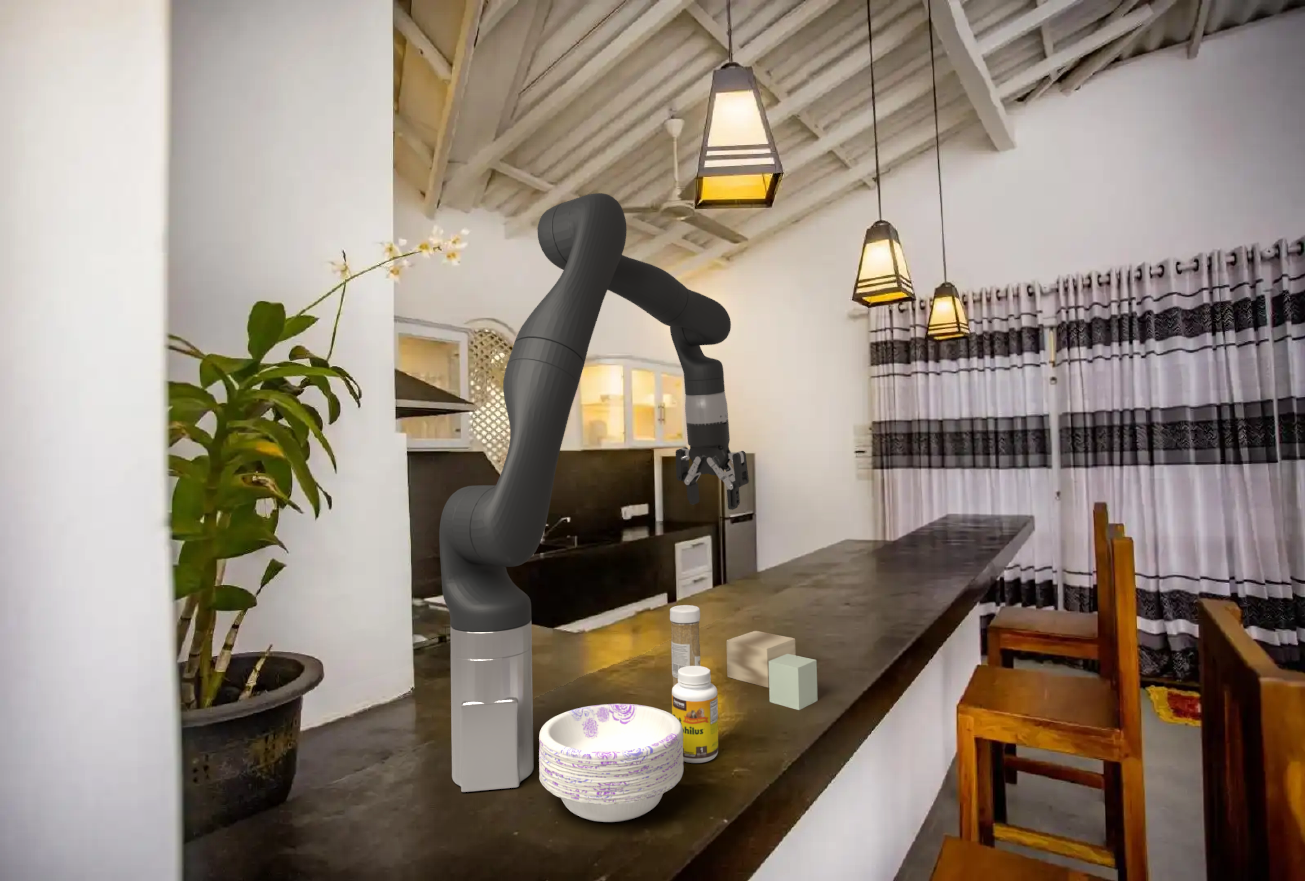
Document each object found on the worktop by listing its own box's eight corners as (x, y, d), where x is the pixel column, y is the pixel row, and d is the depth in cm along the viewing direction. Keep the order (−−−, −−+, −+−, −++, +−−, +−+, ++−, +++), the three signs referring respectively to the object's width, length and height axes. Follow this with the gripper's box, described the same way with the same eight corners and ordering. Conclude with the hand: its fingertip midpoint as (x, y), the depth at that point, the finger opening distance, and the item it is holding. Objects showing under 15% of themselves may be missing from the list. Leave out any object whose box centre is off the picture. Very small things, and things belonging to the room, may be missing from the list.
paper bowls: (633, 756, 83) (632, 690, 83) (713, 808, 70) (712, 730, 70) (516, 793, 74) (515, 719, 74) (583, 859, 62) (582, 770, 62)
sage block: (817, 701, 100) (816, 660, 101) (799, 710, 97) (798, 667, 97) (788, 693, 104) (787, 653, 104) (769, 702, 100) (768, 661, 100)
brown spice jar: (708, 698, 102) (706, 607, 103) (683, 704, 100) (681, 612, 100) (689, 689, 106) (688, 602, 107) (665, 695, 104) (663, 606, 104)
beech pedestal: (796, 675, 112) (795, 638, 112) (768, 687, 106) (767, 648, 107) (756, 665, 118) (755, 630, 118) (727, 676, 112) (726, 640, 112)
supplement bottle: (664, 759, 82) (662, 673, 82) (685, 742, 87) (683, 661, 87) (706, 769, 79) (705, 680, 79) (726, 750, 84) (724, 666, 84)
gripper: (662, 420, 123) (670, 507, 126) (728, 423, 114) (735, 516, 117) (687, 414, 129) (694, 497, 132) (752, 415, 120) (758, 504, 123)
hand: (713, 506), depth 124 cm, fingers open, 8 cm apart
